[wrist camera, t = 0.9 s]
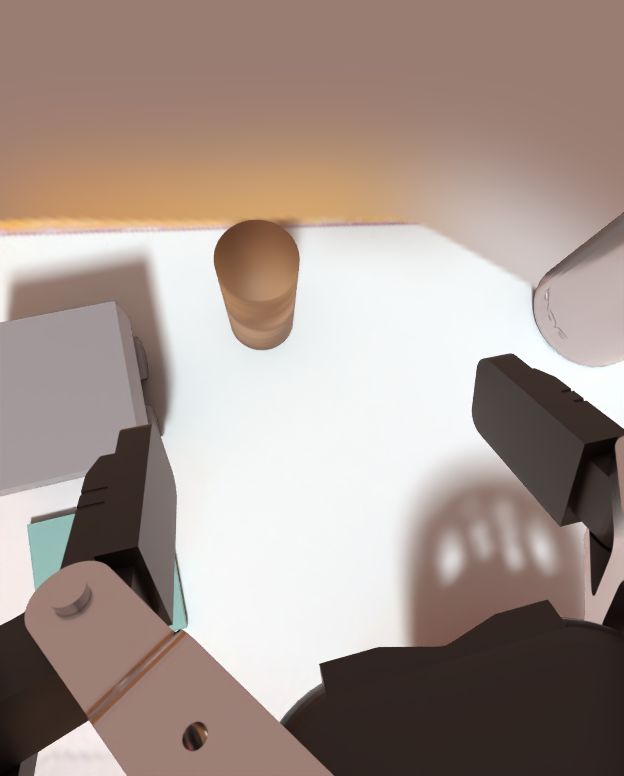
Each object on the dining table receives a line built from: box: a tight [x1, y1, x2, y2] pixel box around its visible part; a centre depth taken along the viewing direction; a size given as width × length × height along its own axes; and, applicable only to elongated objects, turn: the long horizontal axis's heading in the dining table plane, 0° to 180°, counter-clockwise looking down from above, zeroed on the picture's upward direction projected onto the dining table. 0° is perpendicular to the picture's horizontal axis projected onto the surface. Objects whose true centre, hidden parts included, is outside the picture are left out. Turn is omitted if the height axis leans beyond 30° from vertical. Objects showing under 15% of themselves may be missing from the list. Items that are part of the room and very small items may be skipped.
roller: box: [214, 220, 299, 350], centre depth 31 cm, size 5×5×10 cm
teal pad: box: [27, 513, 187, 631], centre depth 31 cm, size 9×9×1 cm
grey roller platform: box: [0, 301, 160, 496], centre depth 31 cm, size 10×10×6 cm
